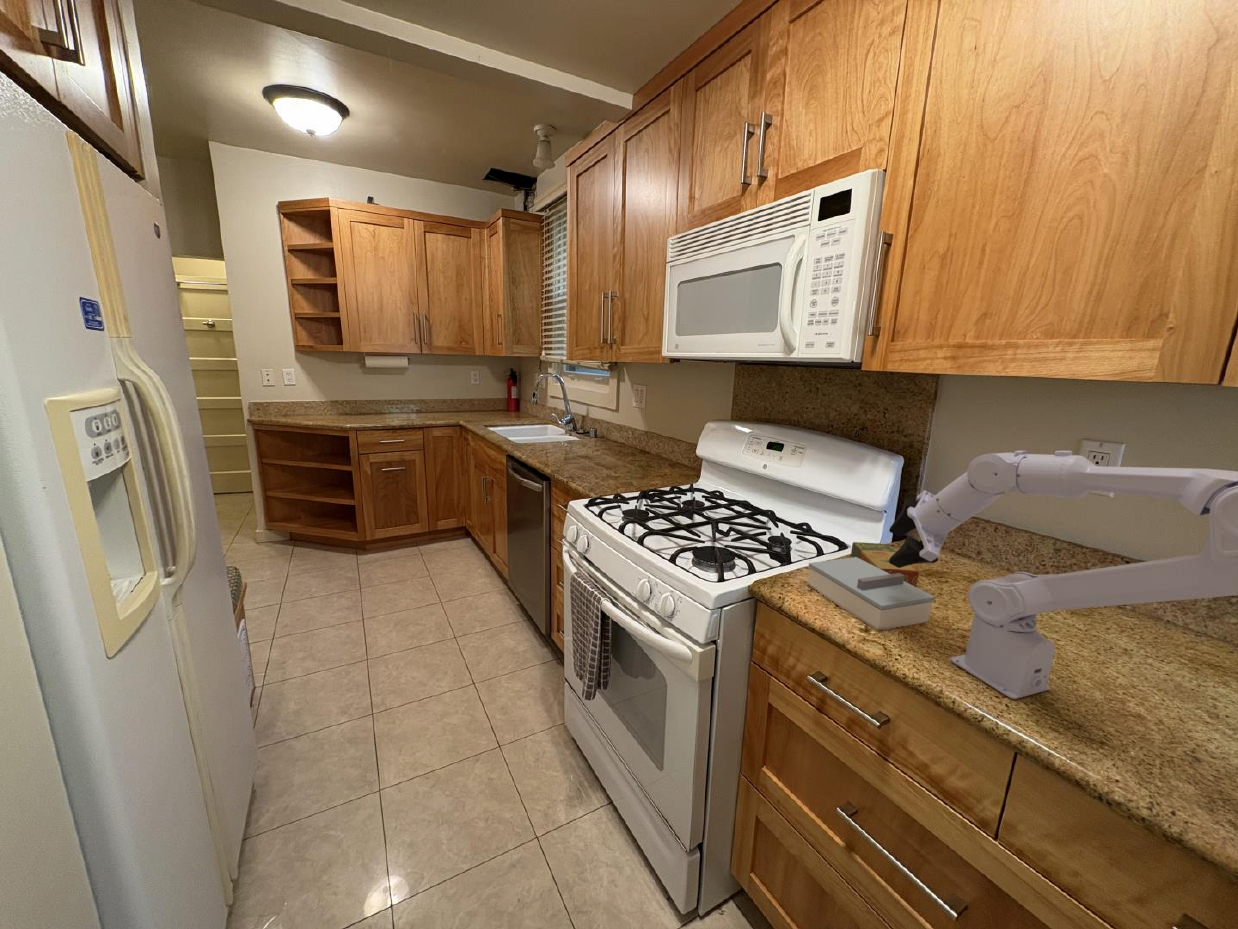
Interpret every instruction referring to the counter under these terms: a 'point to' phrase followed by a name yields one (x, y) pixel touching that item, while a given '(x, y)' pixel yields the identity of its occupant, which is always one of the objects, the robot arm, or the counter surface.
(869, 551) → the carton
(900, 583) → the lid
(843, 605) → the base
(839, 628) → the counter surface
